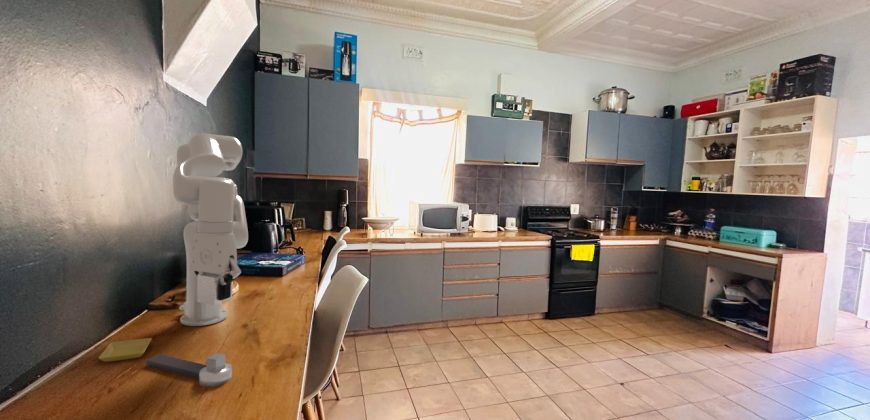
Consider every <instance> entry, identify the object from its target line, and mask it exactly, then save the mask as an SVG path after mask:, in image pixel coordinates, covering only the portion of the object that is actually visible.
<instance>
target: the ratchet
mask: <svg viewBox="0 0 870 420" xmlns="http://www.w3.org/2000/svg"><path fill="white" fill-rule="evenodd" d="M145 364H146V367H148V368H153V369H155V368H157V369H156V370H159V369H161V370H160V371H163V370H165V372H167V371H168V372H167V373H171V372H173V374H175V373H176V375H180V376H184V377H187V378H192V379H196V380H198V383H199V385H200V386H202V387H207V388H209V387H211V388H212V387H218V386H220V385H223V384H225V383H227V382H229V381H230V380H231V379H232V376H233V365H232V364H230V363H228V362H226V354H223V353H220V352H219V353H218V352H215V353H212V354H211V355H210V356H208V357H206V364H203V363H199V362H194V361H191V360H187V359H183V358H179V357H174V356H170V355H164V354H161V353H159V354H156V355H154V356H152V357H150V358H148V359H146V360H145Z"/></svg>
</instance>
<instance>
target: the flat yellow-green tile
mask: <svg viewBox="0 0 870 420" xmlns="http://www.w3.org/2000/svg"><path fill="white" fill-rule="evenodd" d="M152 339H153V338H152V337H149V338H148V337H147V338H139V339H129V340H122V341H121V340H120V341H112V342H111V343H109V344H108V345H107V347H106V348H105V350H104V351H102V353H101V354H100V355H99V357H98V359H99V360H100V361H103V362H105V363H108V362H117V361H123V360H132V359H138V358H141V357H142V356H143V355H144V354H145V352H146V350H147V349H148V346H149V345H150V343H151V341H152Z"/></svg>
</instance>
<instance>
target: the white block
mask: <svg viewBox="0 0 870 420" xmlns="http://www.w3.org/2000/svg"><path fill="white" fill-rule="evenodd" d="M231 273H232V271H231ZM224 275H225V278H226V277H227V274H224ZM219 285H221V282H220V278H219V275H216V274H210V273H203V274H199V275H198V277H197V302H201V303H206V304H211V305H216V304H219V303H221V302H222V303H224V302H226V301H228V300H232V299H233V282H232V283H231V296H230V298H227V299H224V300H219Z"/></svg>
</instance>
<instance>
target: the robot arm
mask: <svg viewBox="0 0 870 420" xmlns="http://www.w3.org/2000/svg"><path fill="white" fill-rule="evenodd" d="M242 158H243V146H242V143H241V141H240V140H239V139H238V138H236V137H235V136H231V135H222V134H221V135H220V134H213V133H212V134H211V133H197V134H195V135H192V137H191V138H190V139H189V141H188V143H186V144H182V145H180V146H179V147H178V148H177V150H176V162H177V166H176V167H175V169H174V172H173V176H172V190H173V196H174V199H175V201H176V202H178V203H179V204H181V205H187V211H188V214H189V217H190V218H191V220H193V221H190V222H188V223H187V224H186V225H185V226H184V227H183V242H184V247H185V255H186V258H185V259H186V301H184V302H183V304H182V305H179V307H178V308H179V309H178V310H181V311H184V313H183V315H181V317H180V318H179V319H180V321H179V322H180V324H181V325H184V326H187V327H188V326H189V327H202V326H207V325H208V326H209V325H213V324H217V323H219V322H221V321H223V320H225V319H226V318H227V317H228V311H227V310H226V309H223V302H221V303H219V304H216V305H211V304H206V303H201V302H197V277H198V275H199V274H203V273H210V274H216V275H219V278H220V282H221V285H219V300H224V299H227V298H230V296H231V283H232V284H233V283H234V281H235V279H236V278H237V277H238V276H239V275H240V274H241V273H242V270H241V268H240V267H239V265H238V264H237V263H238V253H237V249H242V248H244V247H246V245H247V244H248V241H249V231H248V222H247V217H246V210H245V209H246V208H245V204H244V201H243V198H242V197H241V196H240V195H239V194H238V186H237V184H235V182H234V181H233V180H232V179H231V178H228V177H220V175H221V174H222V173H223V171H226V172H227V171H228V172H229V171H234V170H235V169H236V168H237V167H238V165H239V164H240V162H241V160H242ZM231 272H232V273H231ZM224 274H227V277H226V278H225V275H224Z"/></svg>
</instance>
